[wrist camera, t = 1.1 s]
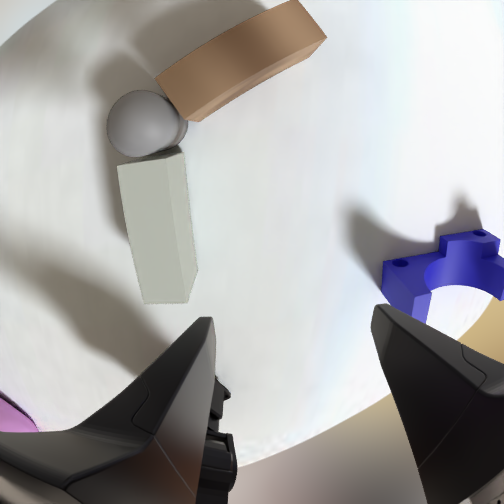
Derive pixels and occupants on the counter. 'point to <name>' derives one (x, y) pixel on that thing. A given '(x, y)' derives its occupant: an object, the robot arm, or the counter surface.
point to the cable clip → (444, 271)
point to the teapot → (14, 419)
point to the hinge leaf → (154, 196)
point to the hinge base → (239, 61)
